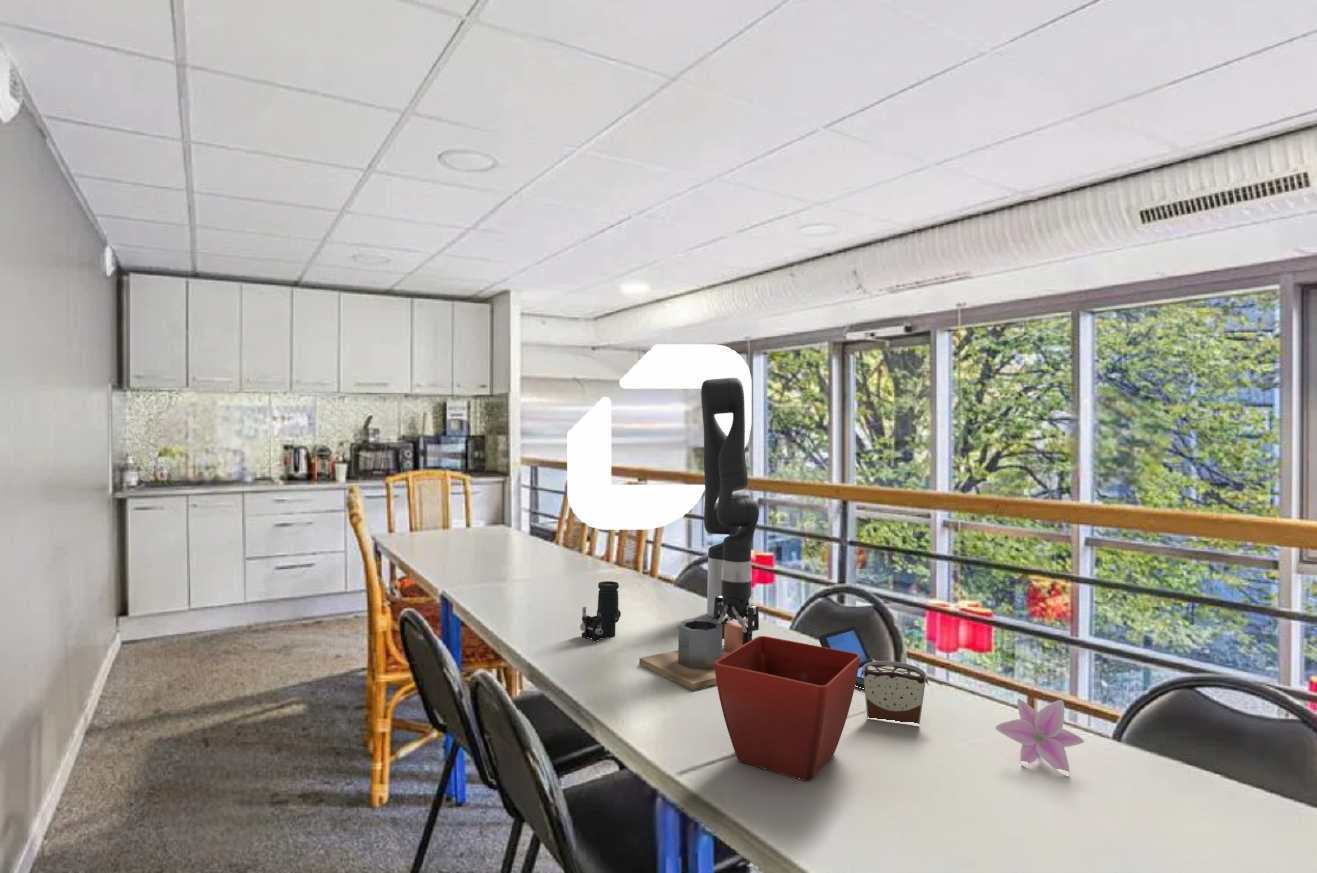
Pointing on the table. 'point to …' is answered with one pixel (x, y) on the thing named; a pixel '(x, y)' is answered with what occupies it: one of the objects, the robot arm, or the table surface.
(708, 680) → the walnut board
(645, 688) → the table surface
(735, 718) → the plant pot
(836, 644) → the handheld game console
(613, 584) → the scope
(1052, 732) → the lily
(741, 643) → the salmon pink rounded cylinder
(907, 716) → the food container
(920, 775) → the table surface
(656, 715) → the table surface
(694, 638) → the grey octagonal cup
